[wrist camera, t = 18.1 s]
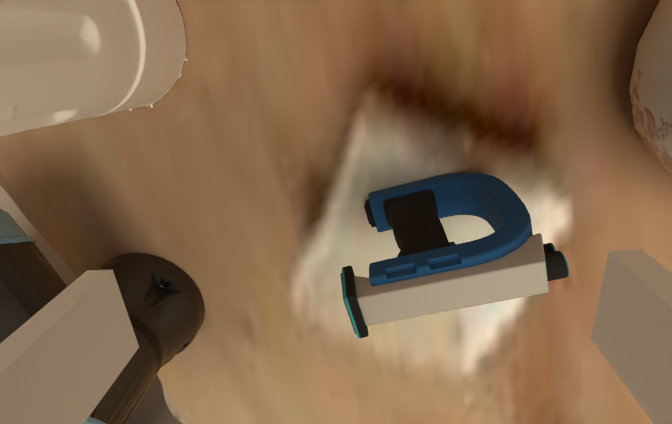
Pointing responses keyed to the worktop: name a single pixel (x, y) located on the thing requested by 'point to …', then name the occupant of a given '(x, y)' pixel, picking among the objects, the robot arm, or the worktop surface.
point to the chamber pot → (654, 86)
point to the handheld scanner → (449, 252)
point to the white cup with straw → (85, 58)
